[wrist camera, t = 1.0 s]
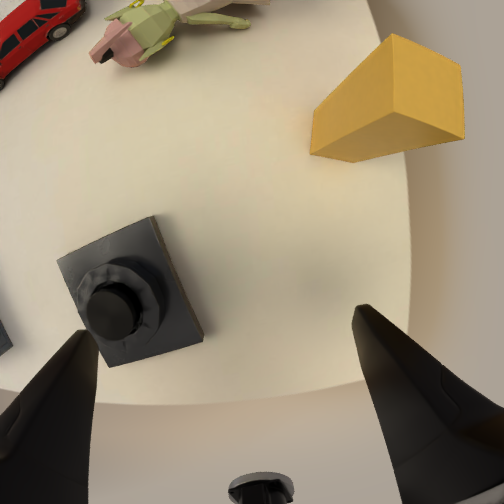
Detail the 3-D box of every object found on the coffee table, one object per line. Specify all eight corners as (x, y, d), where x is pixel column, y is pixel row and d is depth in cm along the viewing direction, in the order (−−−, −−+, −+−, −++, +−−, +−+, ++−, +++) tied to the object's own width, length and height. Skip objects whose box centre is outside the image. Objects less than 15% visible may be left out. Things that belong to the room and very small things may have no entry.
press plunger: (149, 323, 20) (142, 333, 18) (109, 335, 20) (100, 346, 18) (127, 277, 19) (118, 284, 17) (88, 292, 19) (77, 300, 17)
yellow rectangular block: (353, 163, 21) (464, 139, 9) (309, 154, 21) (393, 111, 8) (357, 120, 20) (460, 64, 8) (314, 110, 20) (391, 32, 8)
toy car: (-19, 68, 16) (-45, 57, 11) (84, -14, 16) (66, -39, 11) (-15, 108, 17) (-46, 100, 13) (95, 20, 17) (74, -7, 12)
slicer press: (204, 334, 23) (200, 353, 20) (113, 361, 23) (101, 379, 20) (153, 215, 21) (141, 218, 18) (63, 257, 21) (44, 265, 18)
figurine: (230, -53, 15) (84, 36, 17) (248, -92, 9) (52, 19, 11) (284, 11, 19) (139, 103, 21) (319, -12, 13) (122, 105, 15)
